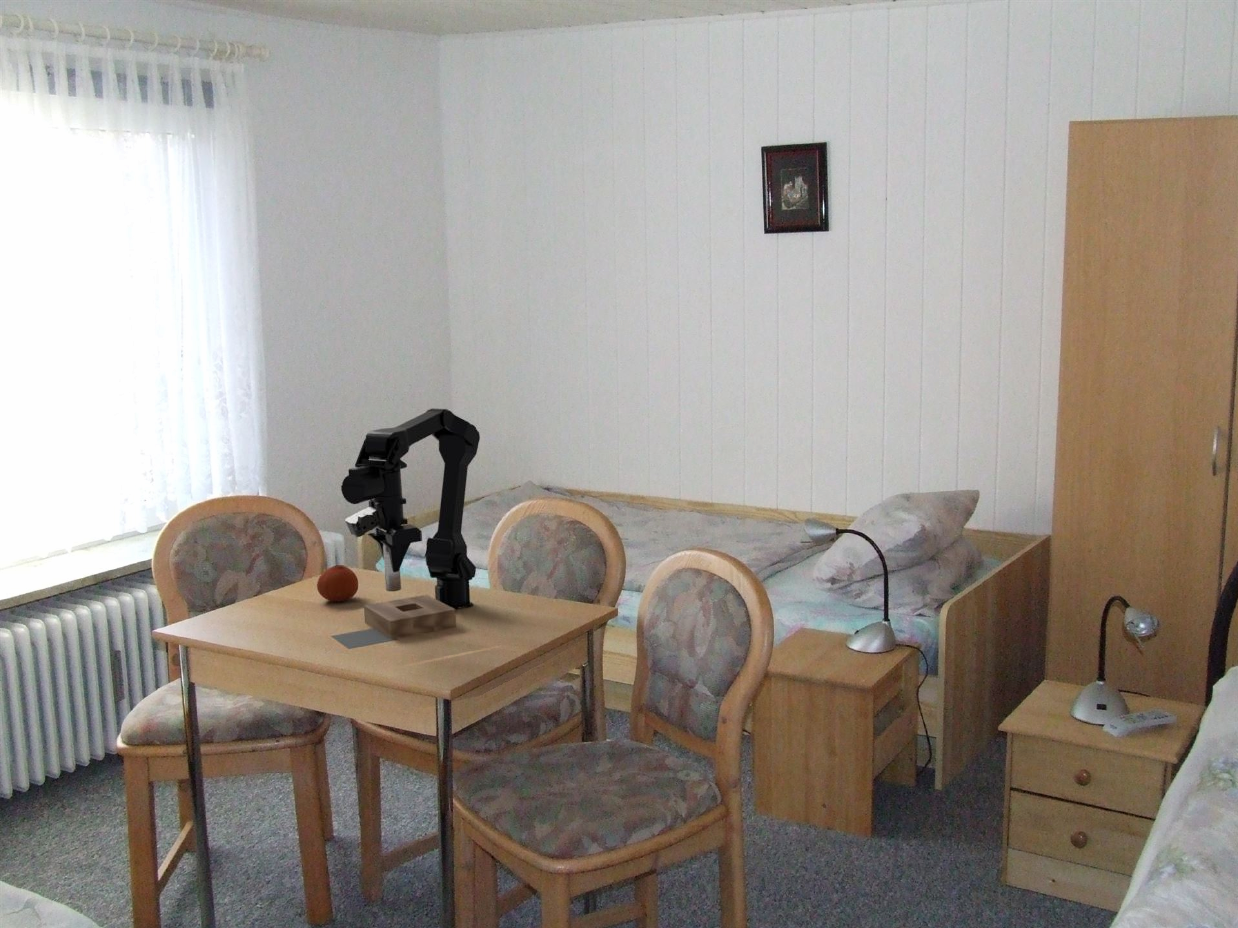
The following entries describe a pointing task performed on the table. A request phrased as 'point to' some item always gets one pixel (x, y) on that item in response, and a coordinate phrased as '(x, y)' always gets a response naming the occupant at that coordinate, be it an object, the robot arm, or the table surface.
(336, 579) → the fruit
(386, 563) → the peg
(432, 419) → the robot arm
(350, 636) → the panel
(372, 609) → the hole block
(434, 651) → the table surface
